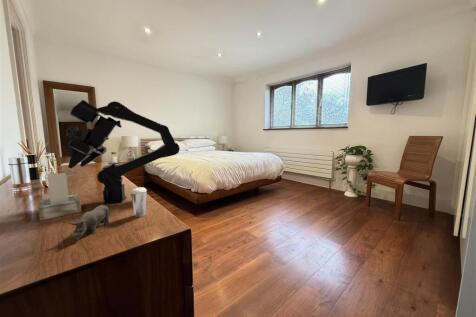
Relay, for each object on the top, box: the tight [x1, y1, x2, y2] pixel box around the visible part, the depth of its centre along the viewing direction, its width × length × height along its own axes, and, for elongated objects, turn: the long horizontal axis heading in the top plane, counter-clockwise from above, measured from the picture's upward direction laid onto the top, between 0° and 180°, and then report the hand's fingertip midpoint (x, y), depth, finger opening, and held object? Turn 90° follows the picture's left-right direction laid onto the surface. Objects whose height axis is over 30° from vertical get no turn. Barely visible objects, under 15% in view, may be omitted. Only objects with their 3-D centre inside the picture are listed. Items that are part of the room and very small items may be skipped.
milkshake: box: [127, 185, 148, 218], centre depth 63 cm, size 4×5×10 cm
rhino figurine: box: [69, 204, 110, 240], centre depth 52 cm, size 4×14×6 cm, turn 2°
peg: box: [46, 172, 70, 205], centre depth 66 cm, size 4×4×13 cm
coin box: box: [38, 193, 82, 221], centre depth 67 cm, size 10×10×4 cm
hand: (76, 167), depth 71 cm, fingers open, 9 cm apart
